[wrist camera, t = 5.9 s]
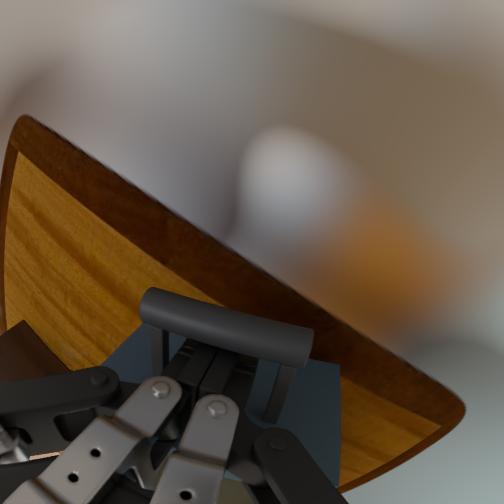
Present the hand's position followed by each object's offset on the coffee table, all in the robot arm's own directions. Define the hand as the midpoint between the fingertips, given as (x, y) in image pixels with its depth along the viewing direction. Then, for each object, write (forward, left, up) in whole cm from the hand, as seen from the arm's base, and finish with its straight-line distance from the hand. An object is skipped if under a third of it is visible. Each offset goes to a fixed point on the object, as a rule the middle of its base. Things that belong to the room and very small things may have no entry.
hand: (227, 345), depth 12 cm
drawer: (+6, +3, -4) cm, 8 cm away
